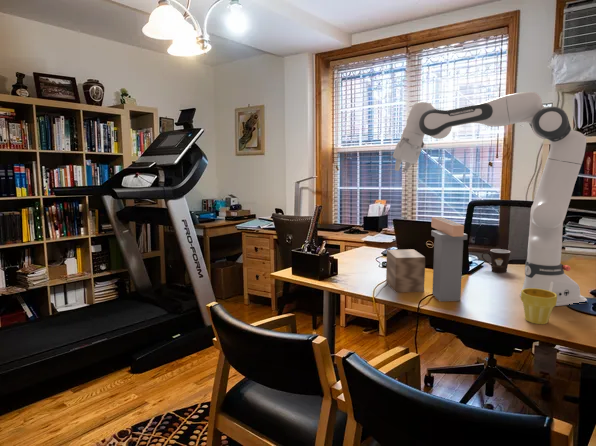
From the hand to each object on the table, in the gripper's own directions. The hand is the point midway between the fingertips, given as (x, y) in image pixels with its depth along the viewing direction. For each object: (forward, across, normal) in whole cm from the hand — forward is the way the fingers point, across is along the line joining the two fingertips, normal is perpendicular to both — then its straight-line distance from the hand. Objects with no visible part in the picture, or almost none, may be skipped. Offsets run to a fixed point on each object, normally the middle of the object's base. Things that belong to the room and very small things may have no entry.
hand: (400, 171), depth 180 cm
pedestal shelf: (+41, -7, -37) cm, 56 cm away
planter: (+16, -8, -28) cm, 34 cm away
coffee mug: (+33, +46, -45) cm, 72 cm away
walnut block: (+46, -1, -19) cm, 49 cm away
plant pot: (+34, -14, -68) cm, 77 cm away
